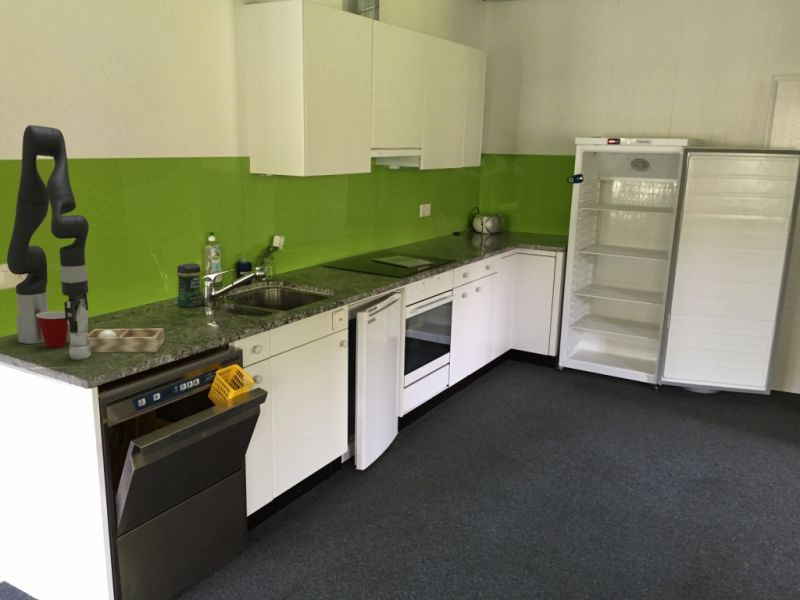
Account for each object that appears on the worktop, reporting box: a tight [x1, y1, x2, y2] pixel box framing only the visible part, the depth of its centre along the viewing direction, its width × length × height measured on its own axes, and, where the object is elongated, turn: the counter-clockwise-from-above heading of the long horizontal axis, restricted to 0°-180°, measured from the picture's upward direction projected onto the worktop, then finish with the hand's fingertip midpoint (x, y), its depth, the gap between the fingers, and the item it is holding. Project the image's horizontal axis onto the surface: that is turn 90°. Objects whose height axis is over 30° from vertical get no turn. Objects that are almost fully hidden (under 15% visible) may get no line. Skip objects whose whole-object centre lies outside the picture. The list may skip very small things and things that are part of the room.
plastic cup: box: [36, 311, 69, 349], centre depth 228 cm, size 11×11×12 cm
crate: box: [88, 327, 165, 354], centre depth 228 cm, size 23×12×6 cm, turn 98°
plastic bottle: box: [67, 298, 92, 361], centre depth 215 cm, size 6×7×20 cm
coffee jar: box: [176, 262, 203, 309], centre depth 290 cm, size 10×8×19 cm
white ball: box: [98, 330, 117, 338], centre depth 227 cm, size 6×6×6 cm
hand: (78, 329), depth 215 cm, fingers open, 8 cm apart
